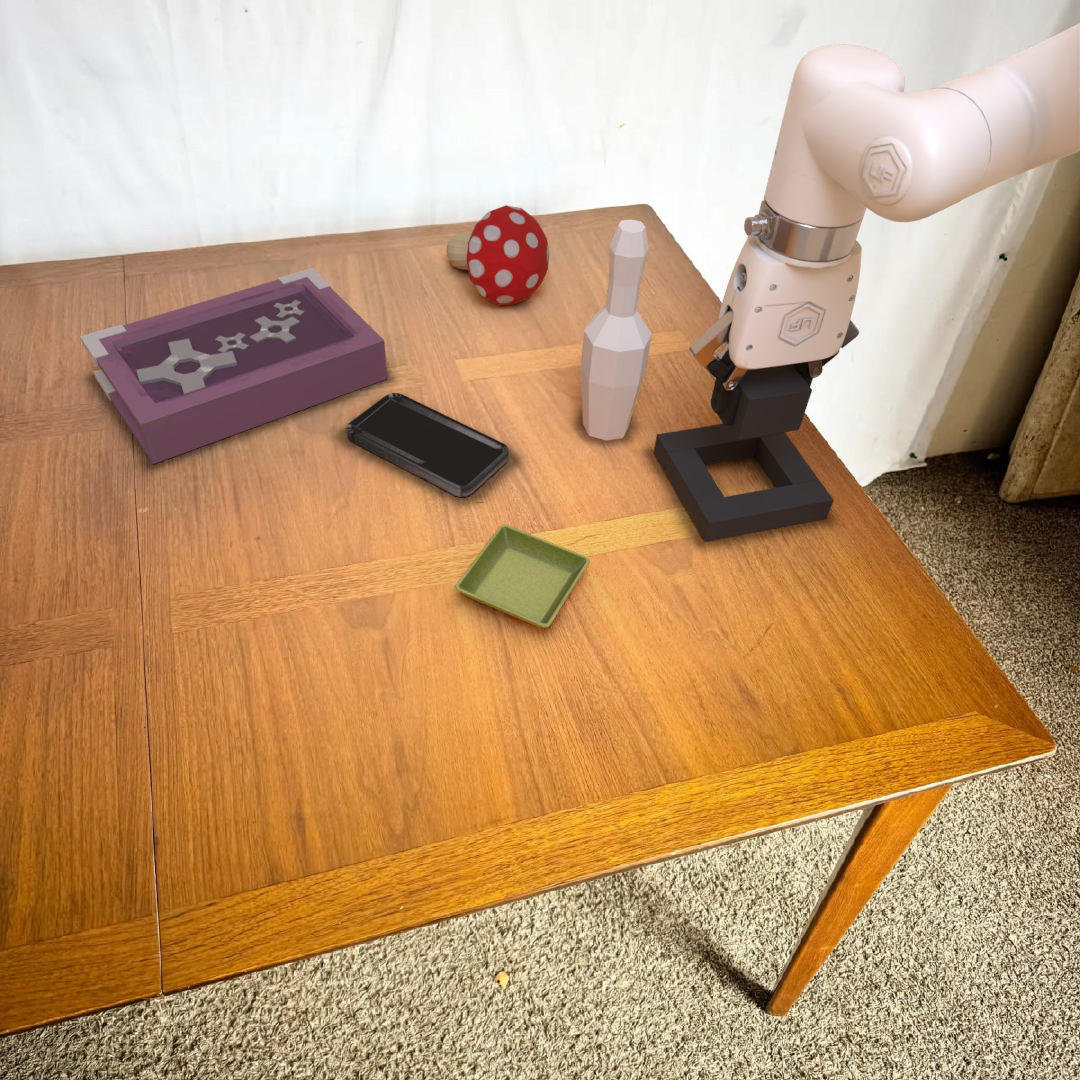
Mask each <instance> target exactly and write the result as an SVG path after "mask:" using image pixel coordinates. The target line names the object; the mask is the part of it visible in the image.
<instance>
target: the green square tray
mask: <svg viewBox="0 0 1080 1080" xmlns="http://www.w3.org/2000/svg"><path fill="white" fill-rule="evenodd" d="M590 563H591V559H590V558H589V557H587V556H586V555H584V554H581V553H578V552H576V551H573V550H571V549H569V548H566V547H563V546H561V545H559V544H555V543H553V542H552V541H548V540H546V539H543V538H541V537H538V536H536V535H533V534H531V533H528V532H526V531H524V530H521V529H518V528H515V527H513V526H510V525H508V524H506V523H505V524H502V525H500V526H498V528H497V529H496V531H495V532H494V534H493V535H492V536H491V538H490V539H489V540H488V541H487V543H486V545H484V547H483V549H482V550H481V551H480V553H479V554H478V555H477V556H476V558H475V560H474V561H473V562H472V563H471V564H470V566H469V567H468V569H466V571H465V572H464V573H463V575H462V576H461V578H460V579H459V580H458V581H457V583H456V584H455V586H454V587H455V590H456V591H458V592H459V593H460V594H461V595H464V596H465V597H467V598H469V599H472V600H474V601H476V602H479V603H481V604H483V605H485V606H488V607H491V608H492V609H495V610H497V611H500V612H502V613H505V614H507V615H510V616H512V617H514V618H517V619H518V620H521V621H523V622H525V623H528V624H530V625H533V626H535V627H538V628H541V629H546V628H549V627H550V626H551V625H552V623H553V621H554V620H555V618H556V616H557V615H558V613H559V611H560V610H561V608H562V607H563V606H564V604H565V603H566V601H567V599H568V597H569V596H570V594H571V593H572V591H573V590H574V588H575V586H576V584H577V583H578V582H579V580H580V578H581V577H582V575H583V574H584V572H585V570H586V569H587V567H588V566H589V564H590Z"/></svg>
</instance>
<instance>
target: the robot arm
mask: <svg viewBox="0 0 1080 1080" xmlns="http://www.w3.org/2000/svg"><path fill="white" fill-rule="evenodd" d="M905 77H906V76H905V73H904V71H903V69H902V67H901V66H900V65H899V63H898V62H897V61H896V60H895V59H894V58H892V57H891V56H889V55H887V54H886V53H883V52H881V51H878V50H876V49H872V48H869V47H866V46H862V45H855V44H845V43H844V44H843V43H842V44H841V43H839V44H827V45H821V46H818V47H815V48H813V49H812V50H810V51H808V52H807V53H806V54H805V55H803V57H801V59H800V60H799V62H798V64H797V65H796V67H795V70H794V73H793V77H792V79H791V82H790V87H789V91H788V95H787V96H788V97H787V99H786V104H785V108H784V113H783V115H782V121H781V125H780V129H779V133H778V137H777V142H776V146H775V148H774V149H775V150H774V154H773V158H772V162H771V166H770V170H769V175H768V178H767V182H766V187H765V191H764V196H763V199H762V200H761V203H760V206H759V211H758V214H754V215H753V216H748V217H746V218H745V220H744V223H743V229H744V233H745V235H746V236H747V238H746V239H745V241H744V244H743V246H742V248H741V250H740V252H739V254H738V256H737V258H736V261H735V263H734V266H733V269H732V272H731V274H730V277H729V279H728V283H727V284H726V289H725V292H724V295H723V298H722V302H721V305H720V310H719V313H718V317H717V321H715V322H714V323H713V324H712V325H711V326H709V328H707V330H705V331H704V332H703V333H702V334H701V335H700V336H699V337H697V338H696V339H695V340H694V341H693V342H692V343H691V344H690V345H689V347H688V350H689V352H690V353H691V355H692V356H693V358H694V359H695V360H696V361H697V362H698V363H699V364H700V365H701V366H702V367H703V368H704V369H706V370H707V371H708V372H709V374H710V375H712V377H713V378H715V381H714V385H713V389H712V394H711V398H710V407H711V409H712V411H713V412H714V413H715V414H716V415H717V417H718V419H720V421H721V422H722V424H724V425H725V426H729V425H732V423H733V422H734V418H735V414H736V410H737V406H738V403H739V399H740V395H741V390H740V388H739V386H738V384H739V382H740V381H741V379H742V378H743V376H744V375H745V373H746V372H747V370H748V369H760V368H767V367H775V366H782V365H789V364H792V365H793V366H794V367H795V368H796V370H797V371H798V372H799V374H800V375H801V376H802V377H803V379H804V380H805V381H806V383H807V384H808V385H809V386H810V387H811V386H812V383H813V379H815V378H819V377H820V376H821V375H822V373H823V370H824V369H823V367H824V366H826V365H827V364H828V363H829V362H831V361H832V360H833V359H834V358H835V357H836V356H838V354H839V353H840V350H841V349H844V348H845V347H846V346H848V344H850V343H852V341H853V340H855V339H856V338H857V337H858V336H859V334H860V330H859V329H858V327H857V326H856V324H855V323H854V322H853V321H852V319H851V318H852V315H853V311H854V308H855V302H856V297H857V293H858V288H859V282H860V275H861V265H862V251H863V250H862V249H863V248H862V246H861V244H860V242H859V241H858V240H857V239H858V235H859V232H860V229H861V226H862V223H863V220H864V217H865V214H866V210H867V209H868V210H869V211H871V212H872V213H874V214H875V215H877V216H879V217H880V218H883V219H884V220H888V221H891V222H896V223H912V222H913V223H914V222H917V221H921V220H923V219H927V218H929V217H932V216H933V215H935V214H937V213H939V212H942V211H944V210H946V209H949V208H950V207H953V206H954V205H957V204H958V203H960V202H961V201H963V200H965V199H967V198H969V197H971V196H973V195H976V194H977V193H980V192H982V191H984V190H986V189H988V188H991V187H993V186H995V185H998V184H1000V183H1002V182H1004V181H1006V180H1008V179H1011V178H1013V177H1016V176H1018V175H1021V174H1023V173H1025V172H1028V171H1031V170H1034V169H1036V168H1039V167H1042V166H1044V165H1047V164H1050V163H1052V162H1056V161H1058V160H1060V159H1063V158H1066V157H1069V156H1071V155H1072V156H1073V155H1074V154H1077V153H1080V22H1079V23H1077V24H1075V25H1073V26H1071V27H1069V28H1067V29H1065V30H1063V31H1061V32H1059V33H1057V34H1055V35H1053V36H1051V37H1048V38H1046V39H1045V40H1041V42H1038V43H1036V44H1034V45H1032V46H1030V47H1028V48H1025V49H1023V50H1021V51H1019V52H1017V53H1015V54H1012V55H1010V56H1008V57H1006V58H1003V59H1001V60H999V61H997V62H995V63H993V64H990V65H988V66H985V67H983V68H981V69H979V70H977V71H973V72H971V73H968V74H966V75H964V76H963V75H962V76H960V77H957V78H953V79H951V80H949V81H946V82H944V83H940V84H938V85H935V86H932V87H929V88H927V89H919V90H912V91H905V87H906V79H905ZM724 343H725V345H724V347H723V348H722V350H721V352H720V353H719V355H717V354H716V353H715V352H716V350H718V348H720V347H722V345H723V344H724ZM732 361H733V363H734V365H733V367H732V368H731V369H730V368H729V366H730V364H731V363H732Z"/></svg>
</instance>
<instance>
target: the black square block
mask: <svg viewBox="0 0 1080 1080" xmlns="http://www.w3.org/2000/svg"><path fill="white" fill-rule="evenodd" d="M733 365H734V363H733V361H732V363H731V364H730V366H729V368H730V369H731V368H732V367H733ZM738 386H739V388H740V390H741V395H740V399H739V403H738V406H737V410H736V414H735V418H734V422H733V423H732V425H729V426H730V427H731V429H732V430H733V432H734V433H735V435H736V436H737V438H738V439H739V440H740V439H746V438H752V437H758V436H764V435H771V434H777V433H783V432H785V433H789V432H795V431H799V430H800V429H801V426H802V423H803V420H804V418H805V417H804V416H805V413H806V410H807V408H808V405H809V403H810V402H809V400H810V398H811V395H812V393H813V389H812V388H811V386H809V385H808V384H807V383H806V381H805V380H804V379H803V377H802V376H801V375H800V374H799V372H798V371H797V370H796V368H795V367H794V366H793V365H792V364H789V365H782V366H775V367H767V368H760V369H748V370H747V372H746V373H745V375H744V376H743V378H742V379H741V381H740V382H739V384H738Z"/></svg>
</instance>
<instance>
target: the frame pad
mask: <svg viewBox="0 0 1080 1080" xmlns="http://www.w3.org/2000/svg"><path fill="white" fill-rule="evenodd" d="M653 456H654V457H655V459H656V461H657V462H658V464H659V465H660V468H661V469H662V471H663V473H664V474H665V476H666V478H667V480H668V482H669V483H670V485H671V487H672V488H673V490H674V492H675V494H676V495H677V497H678V499H679V501H680V502H681V504H682V506H683V508H684V509H685V511H686V512H687V515H688V516H689V518H690V519H691V521H692V523H693V525H694V527H695V528H696V530H697V532H698V533H699V535H700V537H701V540H702V541H703V543H706V542H712V541H717V540H722V539H727V538H732V537H737V536H743V535H748V534H753V533H759V532H764V531H769V530H774V529H779V528H784V527H790V526H795V525H800V524H806V523H810V522H816V521H820V520H826V519H827V518H828V517H829V513H830V511H831V509H832V505H833V503H834V498H833V497H832V495H831V494H830V492H829V491H828V490H827V488H826V487H825V486H824V484H823V483H822V482H821V480H820V478H819V477H818V476H817V475H816V473H815V471H813V469H812V468H811V466H810V465H809V464H808V462H807V461H806V460H805V458H804V457H803V455H802V454H801V453H800V451H799V450H798V448H797V446H795V444H794V443H793V442H792V440H791V439H790V438H789V436H788V435H787V434H786V432H783V433H777V434H771V435H764V436H758V437H752V438H746V439H740V440H739V439H738V438H737V436H736V435H735V433H734V432H733V430H732V429H731V427H730V426H725V425H724V424H723V423H718V424H712V425H705V426H700V427H694V428H686V429H680V430H675V431H667V432H663V433H657V434H656V437H655V443H654V449H653ZM751 457H754V458H755V459H756V460H757V462H758V463H759V465H760V466H761V468H762V470H763V471H764V472H765V473H766V475H767V476H768V478H769V480H770V481H771V482H772V484H773V486H774V487H773V488H765V489H761V490H755V491H750V492H745V493H739V494H733V495H727V496H724V494H723V492H722V490H721V488H719V487H720V486H718V484H717V482H716V481H715V479H714V477H713V476H712V475H711V472H710V471H709V470H708V468H707V466H706V465H710V464H715V463H722V462H729V461H734V460H738V459H745V458H751Z"/></svg>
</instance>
